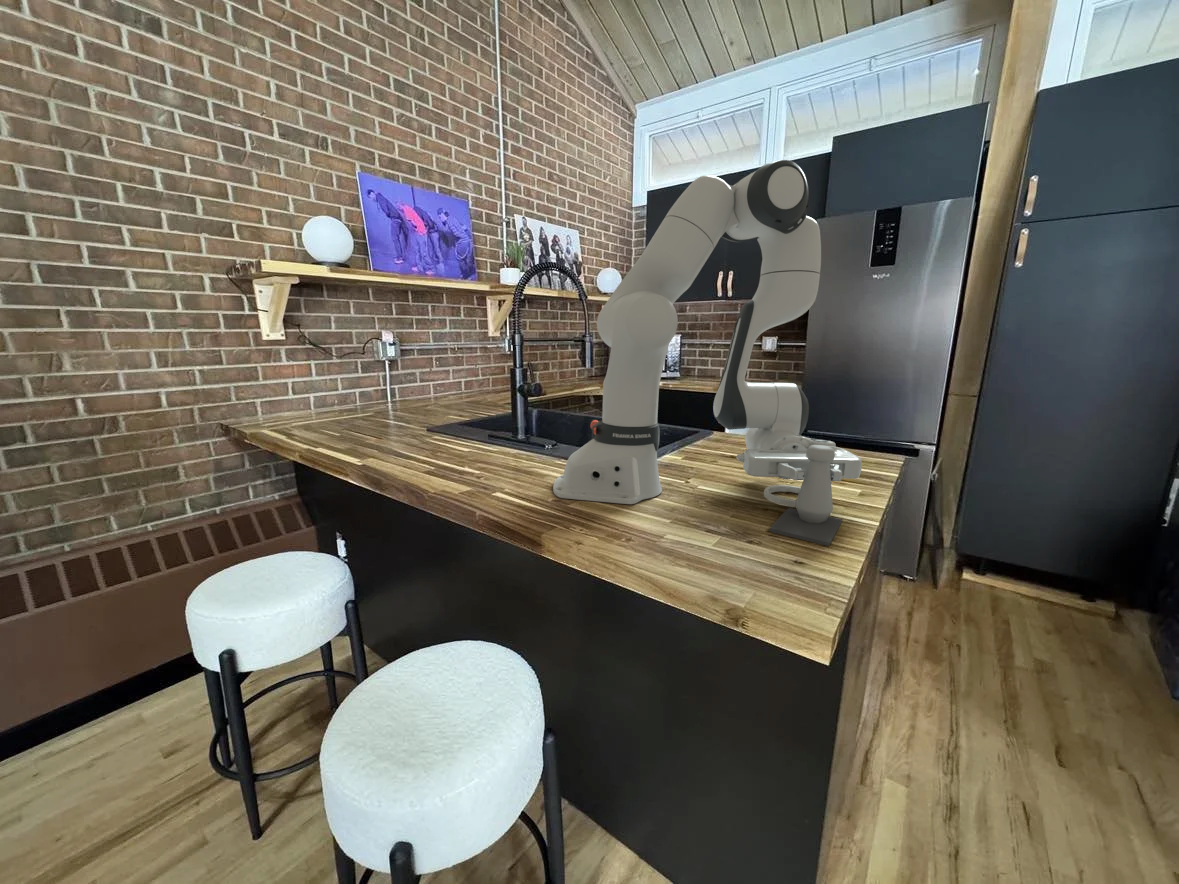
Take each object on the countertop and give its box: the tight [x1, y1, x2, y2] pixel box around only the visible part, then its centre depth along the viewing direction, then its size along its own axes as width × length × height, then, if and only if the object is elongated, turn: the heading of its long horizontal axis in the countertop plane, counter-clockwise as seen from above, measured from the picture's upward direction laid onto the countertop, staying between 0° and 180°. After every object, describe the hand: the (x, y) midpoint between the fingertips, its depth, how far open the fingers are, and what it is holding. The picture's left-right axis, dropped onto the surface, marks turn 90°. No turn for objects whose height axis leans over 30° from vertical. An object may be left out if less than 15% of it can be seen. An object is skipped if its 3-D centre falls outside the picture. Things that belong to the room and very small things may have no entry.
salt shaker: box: [795, 445, 835, 524], centre depth 80 cm, size 6×6×13 cm
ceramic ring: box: [763, 484, 801, 508], centre depth 94 cm, size 10×10×1 cm
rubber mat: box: [768, 507, 843, 547], centre depth 80 cm, size 12×9×1 cm
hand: (818, 476), depth 79 cm, fingers open, 5 cm apart
